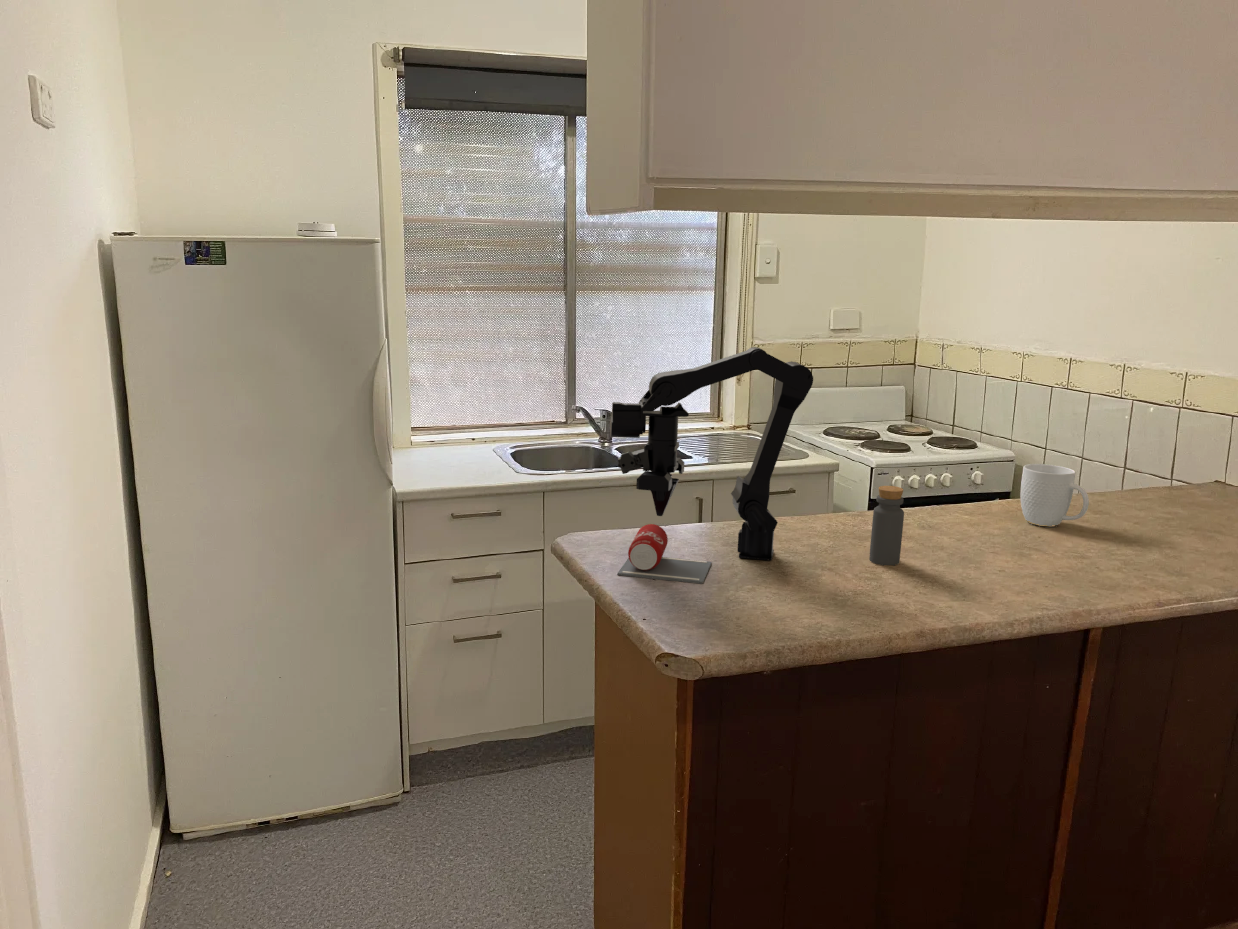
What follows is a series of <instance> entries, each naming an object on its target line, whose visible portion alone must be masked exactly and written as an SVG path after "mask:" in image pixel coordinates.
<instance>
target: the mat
mask: <svg viewBox="0 0 1238 929" xmlns="http://www.w3.org/2000/svg"><path fill="white" fill-rule="evenodd" d="M711 566H712V561H708V560H700V559H699V560H698V559H687V558H677V557H668V556H662V558H661V561H660V563H659V564H658V565H657V566H656V567H655V568H653V569H651V570H640V569H638V568H636V567H635V566H633V565H632V563H631V562H630V560H629V557H628V558H627V559H626V560H625V562H624V563H623V565H622V566H621V567H620V569H619V570H618V572H617V576H623V577H633V578H635V577H636V578H642V579H653V580H665V581H672V582H681V583H682V582H683V583H690V584H691V583H693V584H703V585H704V582H705V580H706V578H707V574H708V572H709V570H710V568H711Z"/></svg>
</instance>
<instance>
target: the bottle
mask: <svg viewBox="0 0 1238 929" xmlns="http://www.w3.org/2000/svg"><path fill="white" fill-rule="evenodd" d="M903 493H904V489H903V488H902V487H900V486H896V485H895V486H894V485H881V486H879V487H878V495H877V496H876V498H875V499H876V503H878V505H877V506H876V507H875V506H874V508H873V512H872V513H873V514H872V524H871V534H870V546H869V556H868V557H869V562H871V563H873V564H876V565H879V566H884V565H893V566H896V565H895V564H897V565H899V564H900V559H901V550H902V541H903V540H902V539H903V530H904V519H905V511H904V510H903V509H902V508H901V507H900V506H901V505H903V504H904V501H905V500H904V499H905V498H903V497H902V496H903Z"/></svg>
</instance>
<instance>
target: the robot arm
mask: <svg viewBox="0 0 1238 929" xmlns="http://www.w3.org/2000/svg"><path fill="white" fill-rule="evenodd" d="M753 371H760V372H762V373H763V374H765V375H767V376H769V377H771V378H773V379H775V381H774V387H773V402H772V404H773V405H772V407H771V410H770V413H769V416H768V419H767V422H766V424H765V427H764V431H763V433H762V436H761V438H760V441H759V444H758V447H757V450H756V453H755V455H754V459H753V461H752V464H751V466H750V470H749V471H748V473H747V474H746V475H745V476H744V478H743V477H741V476H739V475H738V476H736V480H735V487H734V488H733V490H732V491H731V493H730V495H731V496H732V505H733V508H734V509H735V511H736V512H737V514H738V516H739V517H740V518H741V519H742V520H743V522H742V524H741V529H739V531H738V533H737V534H738V536H737V537H738V538H737V553H739V554H738V558H740V559H749V560H757V561H758V560H760V561H772V560H773V557H774V552H775V550H774V537H775V536H774V535H775V530H776V528H777V525H778V521H777V519H776V518H775V517H774V515H773V514H772V513H771V511H770V510H769V509H768V506H769V500H770V491H771V490H770V489H771V478H772V475H773V473H774V470H775V467H776V465H777V462H778V458H779V456H780V453H781V450H782V447H783V445H784V443H785V442H784V441H785V439H786V436H787V434H788V430H789V429H790V425H791V423H792V419H793V416H794V414H795V412H796V411H797V409H799V407H800V406H801V404H803V402H804V401H805V399H806V398H807V395H808V394H809V392H810V390H811V388H812V386H813V385H814V384H813V383H814V375H813V373H812V371H811V370H810V369H809V368H808V367H807V366H806V365H803V364H801V363H799V362H796V361H792V360H791V361H787V362H784V361H782V360H781V359H778V358H777V357H776V356H773V355H771V354H769V353H767V351H765V350H764V349H762V348H760V347H757V346H752V347H749V348H748V349H747V350H745V351H742V352H737V353H736V354H731V355H729V356H726V357H722V358H720V359H718V360H714V361H711V362H708V363H705V364H701V365H700V366H696V367H693V368H687V369H677V370H675V369H674V370H669V371H668V370H667V371H661V372H658V373H656V374H654V375H653V376H652V377H651V379H650V381H649V384H648V390H647V391H646V392H645V394H643V396H641V398H640V400H639V402H638V403H625V402H619V401H617V402H616V401H613V402H612V403H611V416H610V423H609V429H610V431H609V432H610V433H609V434H610V435H609V436H610V438H618V439H619V438H620V439H621V438H624V439H625V438H626V439H627V438H628V439H629V438H631V439H635V438H636V439H640V437H641V435H644V434H645V433H646V430H647V425H646V424H647V417H648V431H647V432H648V435H647V443H646V444H645V445H644V446H643V448H642V449H638V450H635V451H627V452H622V453H621V454H620V456H619V457H618V458H617V462H618V464H617V467H618V468H619V469H620V470H621V473H622V474H623V475H625V474H627V473H629V472H632V471H635V470H639V469H642V471H643V472H642V473H641V474H640V475H639V476H638V477H637V478H636V486H635V489H637V490H641V491H650V492H651V495H652V500H653V505H654V509H655V514H656V516H658V517H663V515H664V514H665V512H666V510H667V507H668V505H669V502H670V501H671V498H672V496H673V494H674V491H675V489H676V488H677V485H678V483H679V478H678V477H677V478H676V477H675V478H673V475H672V473H675V472H677V471H678V474H680V475H682V474H683V473H684V472H685V461H684V460H683V459H682V458H681V457H678V449H679V447H680V442H679V441H678V438H679V437H678V433H679V432H678V430H679V417H682V418H686V417H689V416H690V414H689V412H688V411H687V410H686V409H685V408H684V407H683V404H682V403H681V402H680V401H682V400H683V399H685V398H687V397H688V396H690V395H691V394H693V393H694V392H696V391H697V390H700V389H702V388H704V387H708V386H711V385H714V384H716V383H720V382H723V381H725V380H728V379H732V378H735V377H738V376H741V375H744V374H747V373H750V372H753ZM677 402H678V403H677ZM676 403H677V404H676ZM674 404H676V405H675V406H672V405H674ZM658 409H659V410H658Z"/></svg>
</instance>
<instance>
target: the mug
mask: <svg viewBox="0 0 1238 929" xmlns="http://www.w3.org/2000/svg"><path fill="white" fill-rule="evenodd" d="M1075 478H1076V471H1075V470H1074V469H1071V468H1069V467H1065V466H1061V465H1055V464H1046V463H1029V464H1028V463H1027V464H1025V465H1023V467H1022V475H1021V483H1020V494H1019V496H1020V506H1021V512H1022V515H1023V518H1024V519H1025V521H1026V520H1027V521H1030V522H1032V523H1035V524H1039V525H1047V526H1052V525H1058V524H1059V525H1060V524H1061V523H1062V522H1063V521H1075V520H1079V519H1081V518H1082V517H1084V516H1085V514H1086V513H1087V512H1088V509H1089V505H1090V504H1089V503H1090V500H1089V495H1088V493H1087V490H1086V489H1084V487H1082V486H1081V485H1080V484H1079V485H1078V484H1076V483H1075ZM1074 490H1076V491H1078V492H1079V493H1080V494H1081V496H1082V502H1083V503H1082V504H1083V505H1082V509H1081V511H1080V512H1078V514H1075V515H1071V516H1070V515H1067V513H1068V511H1069V509H1070V506H1071V502H1072V499H1073V494H1074ZM1027 521H1026V522H1027ZM1059 525H1058V526H1059Z"/></svg>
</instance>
